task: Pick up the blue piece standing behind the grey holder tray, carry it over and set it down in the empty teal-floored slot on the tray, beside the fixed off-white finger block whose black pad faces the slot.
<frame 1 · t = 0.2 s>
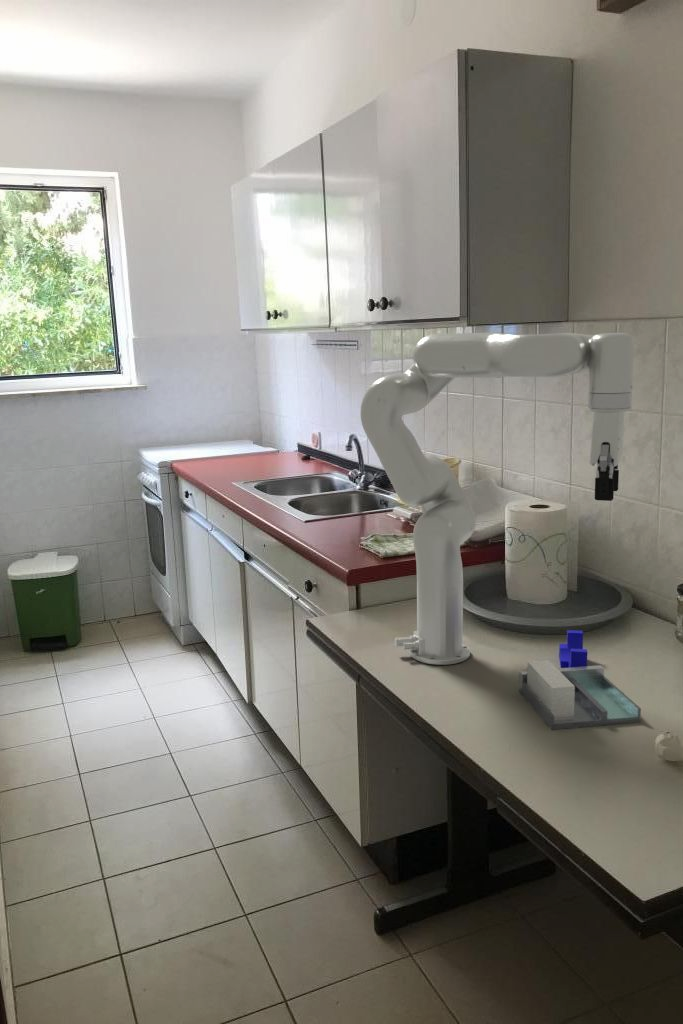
hand: (606, 495, 155), 36 cm above the table, tool pointing down, fingers open, 9 cm apart
grey holder tray: (576, 706, 151), on the table
blue piece: (572, 669, 168), on the table
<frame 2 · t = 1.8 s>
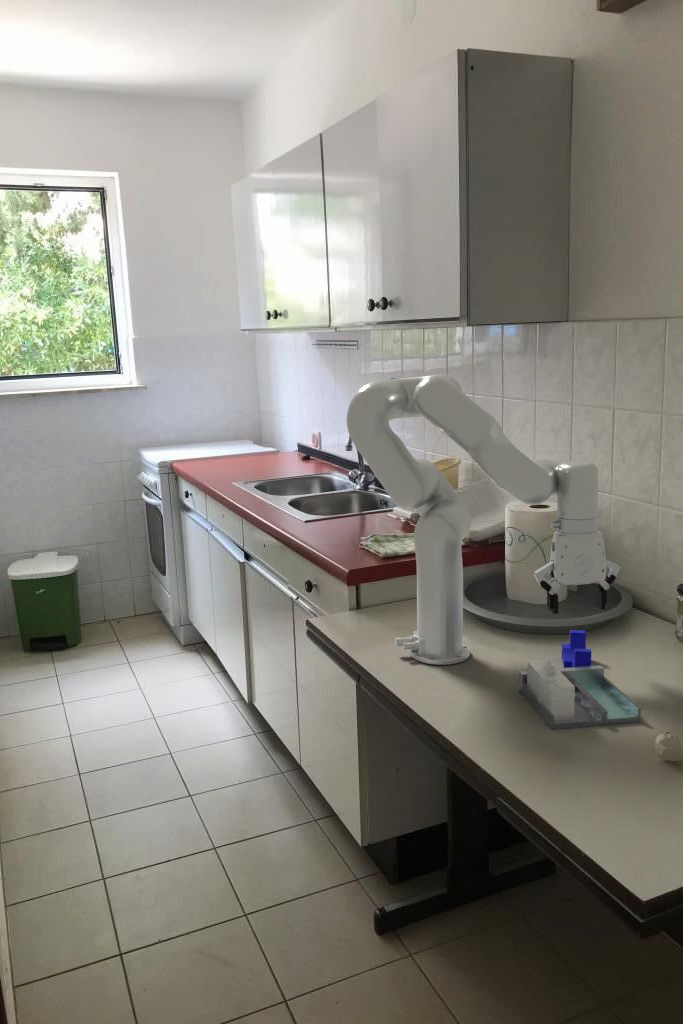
hand: (576, 609, 166), 12 cm above the table, tool pointing down, fingers open, 9 cm apart
nothing on the table moved.
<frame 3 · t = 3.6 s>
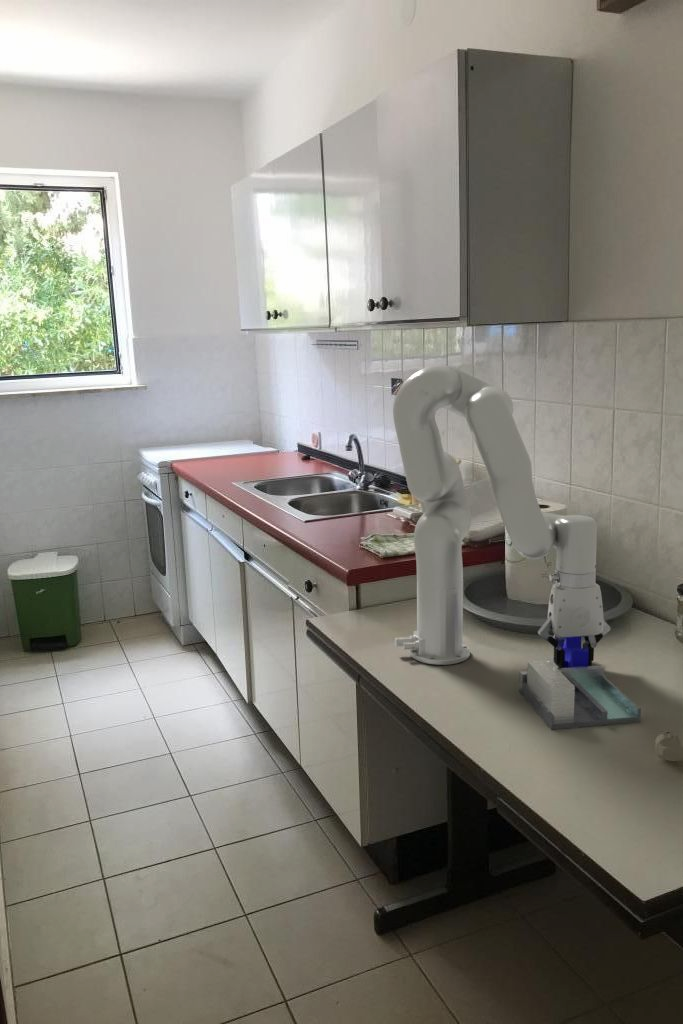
hand: (573, 664, 168), 1 cm above the table, tool pointing down, fingers closed on blue piece, 5 cm apart
blue piece: (571, 669, 168), on the table, touching gripper
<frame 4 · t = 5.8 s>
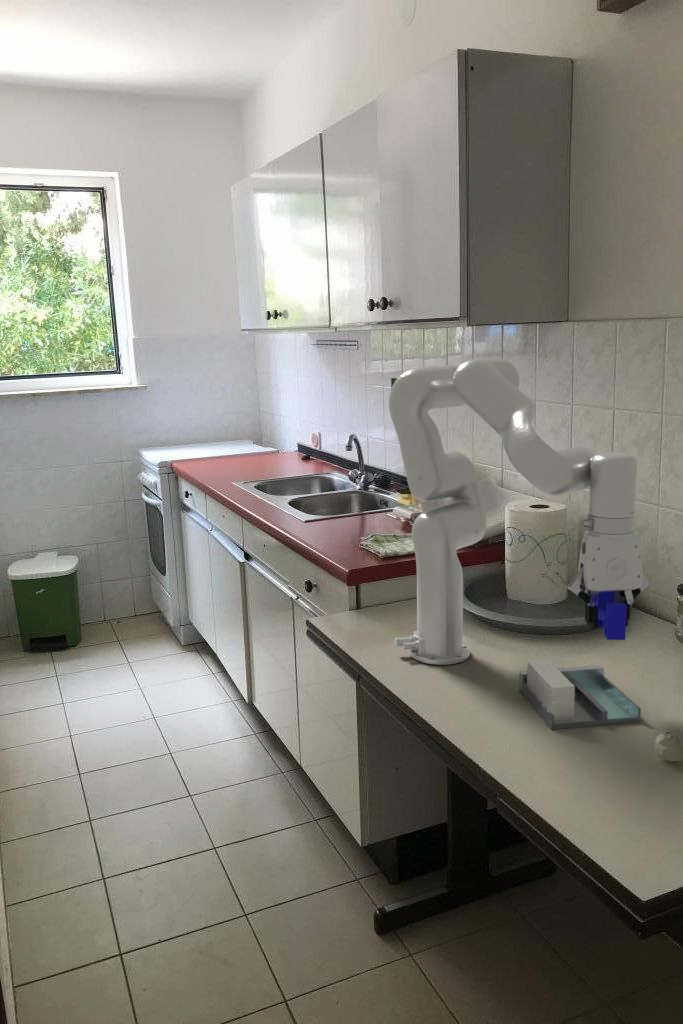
hand: (606, 623, 148), 15 cm above the table, tool pointing down, fingers closed on blue piece, 4 cm apart
blue piece: (604, 628, 148), point 15 cm above the table, touching gripper
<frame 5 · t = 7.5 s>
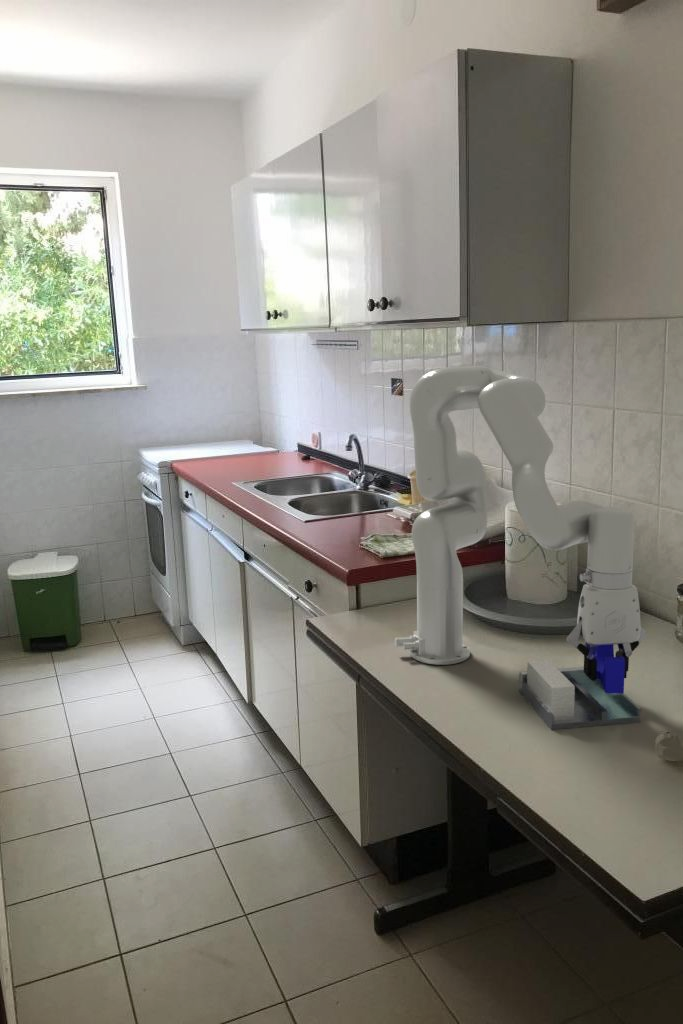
hand: (605, 675, 150), 6 cm above the table, tool pointing down, fingers closed on blue piece, 4 cm apart
blue piece: (603, 680, 150), point 5 cm above the table, touching gripper
when the fingers open (3 cm above the table, at t = 8.5 s): blue piece stays where it is, resting on grey holder tray.
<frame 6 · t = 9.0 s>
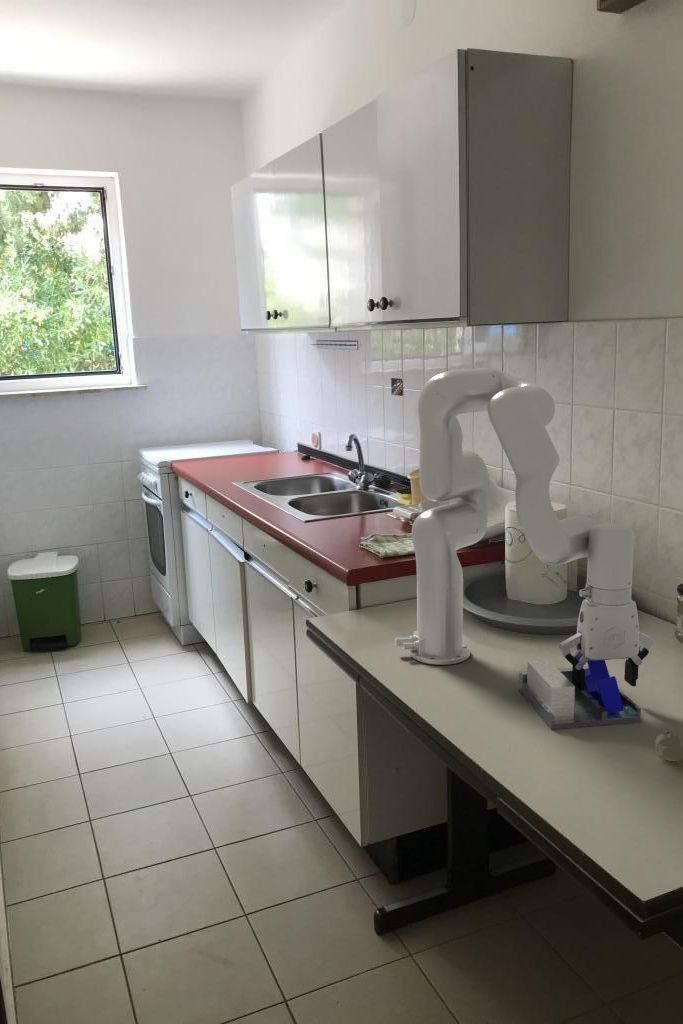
hand: (604, 685, 150), 4 cm above the table, tool pointing down, fingers open, 9 cm apart
blue piece: (603, 697, 151), point 1 cm above the table, touching grey holder tray
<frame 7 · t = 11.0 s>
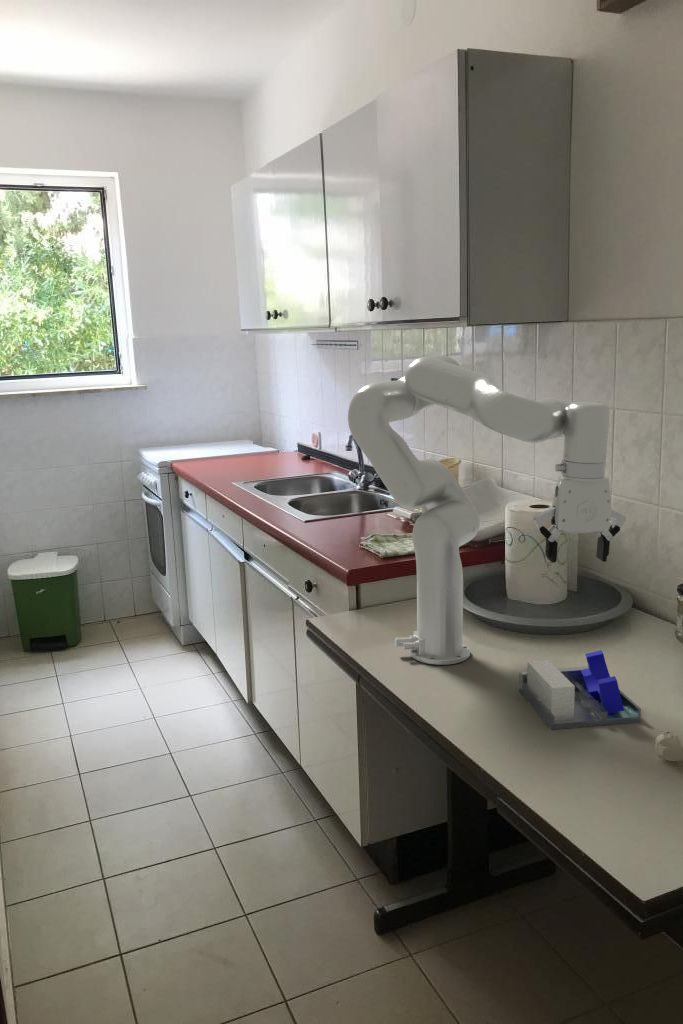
hand: (576, 560, 157), 24 cm above the table, tool pointing down, fingers open, 9 cm apart
nothing on the table moved.
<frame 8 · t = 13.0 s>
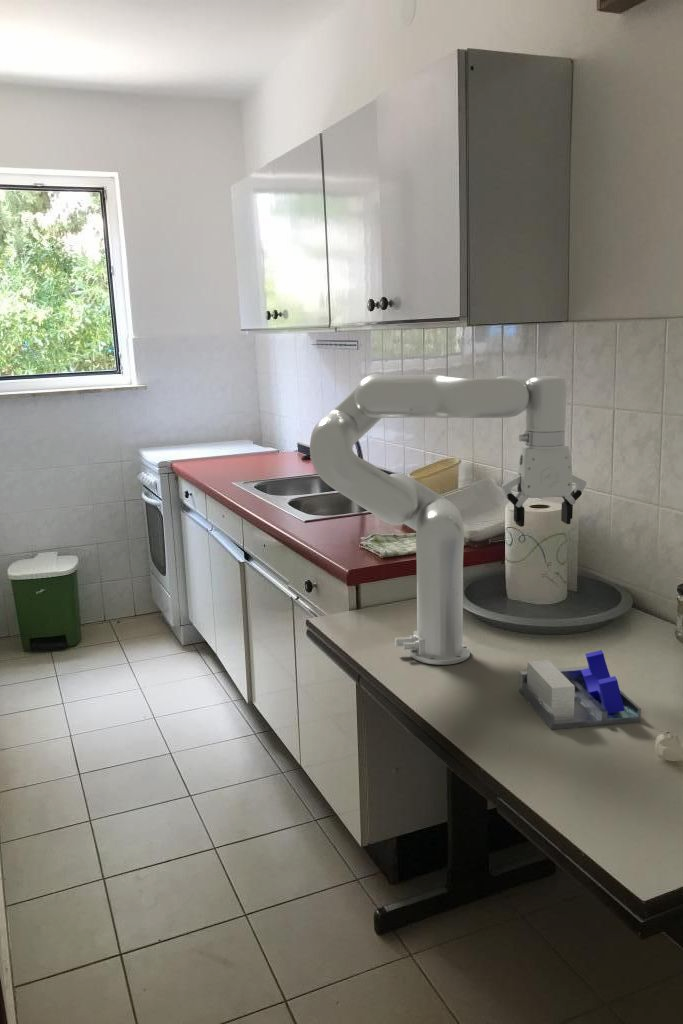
hand: (542, 524, 169), 28 cm above the table, tool pointing down, fingers open, 9 cm apart
nothing on the table moved.
at the end: blue piece 0.1 cm from the target spot on the grey holder tray, point 1.5 cm above the grey holder tray's base; blue piece tilted 16°; the gripper is holding nothing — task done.
